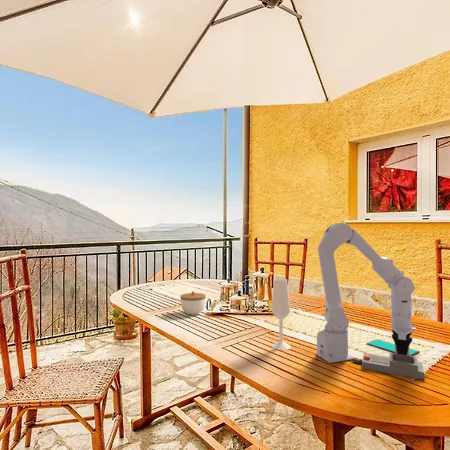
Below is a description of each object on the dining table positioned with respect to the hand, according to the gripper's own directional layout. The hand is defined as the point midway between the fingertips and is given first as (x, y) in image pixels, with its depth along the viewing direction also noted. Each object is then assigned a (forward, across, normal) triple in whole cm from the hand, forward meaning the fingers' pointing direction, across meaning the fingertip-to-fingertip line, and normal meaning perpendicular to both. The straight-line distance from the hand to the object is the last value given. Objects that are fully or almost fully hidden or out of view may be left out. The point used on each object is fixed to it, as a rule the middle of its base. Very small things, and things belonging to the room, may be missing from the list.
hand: (402, 355), depth 103 cm
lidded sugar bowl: (+2, +18, +92) cm, 94 cm away
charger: (+1, 0, 0) cm, 1 cm away
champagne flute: (+2, -6, +38) cm, 39 cm away
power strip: (+1, -8, +4) cm, 10 cm away
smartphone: (+2, +10, +3) cm, 10 cm away
